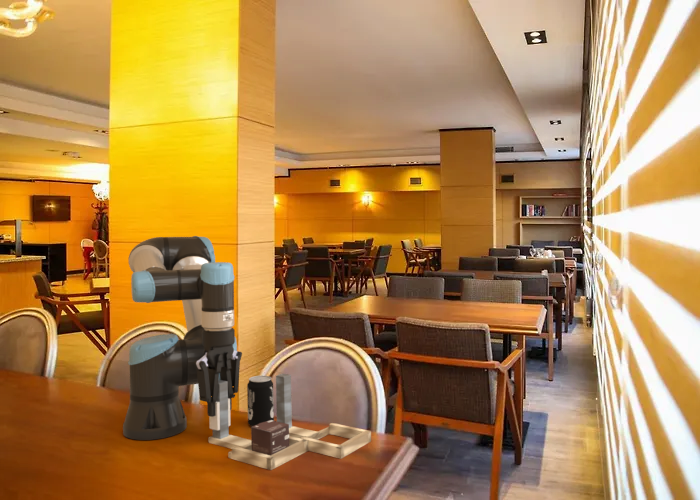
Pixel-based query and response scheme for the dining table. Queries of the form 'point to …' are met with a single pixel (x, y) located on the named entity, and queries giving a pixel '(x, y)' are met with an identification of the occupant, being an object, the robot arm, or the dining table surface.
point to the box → (269, 437)
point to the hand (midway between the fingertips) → (220, 426)
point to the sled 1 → (244, 446)
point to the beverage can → (260, 400)
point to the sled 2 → (339, 451)
